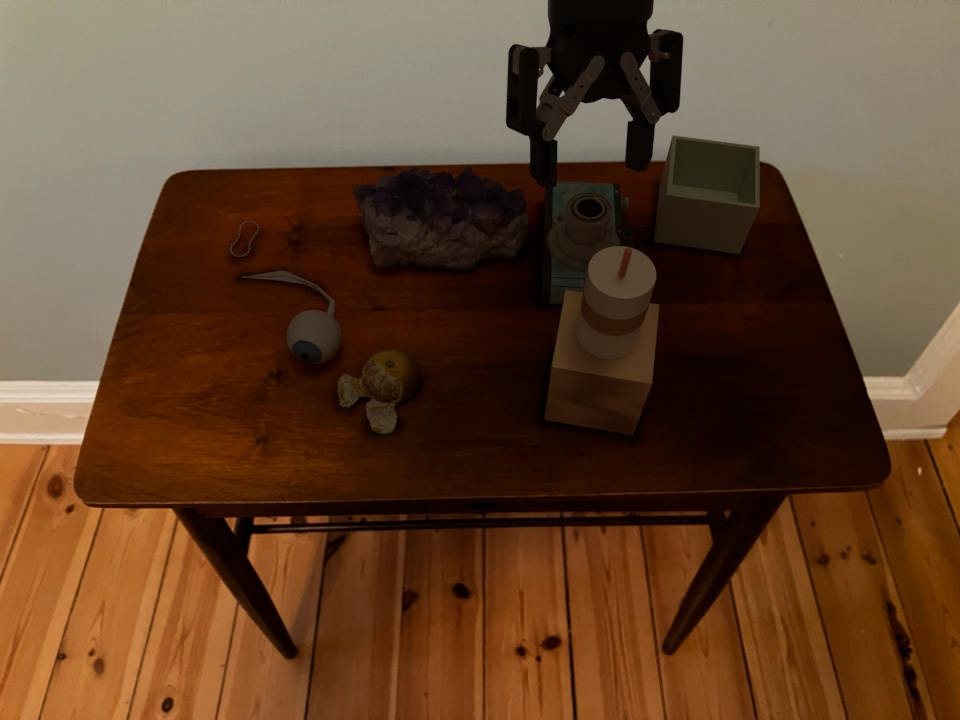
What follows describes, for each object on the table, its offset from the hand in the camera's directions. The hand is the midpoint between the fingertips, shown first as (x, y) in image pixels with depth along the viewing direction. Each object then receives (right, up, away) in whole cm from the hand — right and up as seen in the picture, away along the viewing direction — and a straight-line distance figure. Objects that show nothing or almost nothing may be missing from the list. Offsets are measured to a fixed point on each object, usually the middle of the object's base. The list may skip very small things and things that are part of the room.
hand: (592, 177), depth 60 cm
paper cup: (+3, -12, +9) cm, 15 cm away
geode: (-13, 0, +29) cm, 32 cm away
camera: (+3, -2, +27) cm, 28 cm away
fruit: (-20, -18, +17) cm, 32 cm away
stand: (+3, -18, +17) cm, 25 cm away
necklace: (-37, -1, +29) cm, 47 cm away
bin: (+17, +3, +30) cm, 35 cm away
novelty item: (-30, -10, +22) cm, 39 cm away
